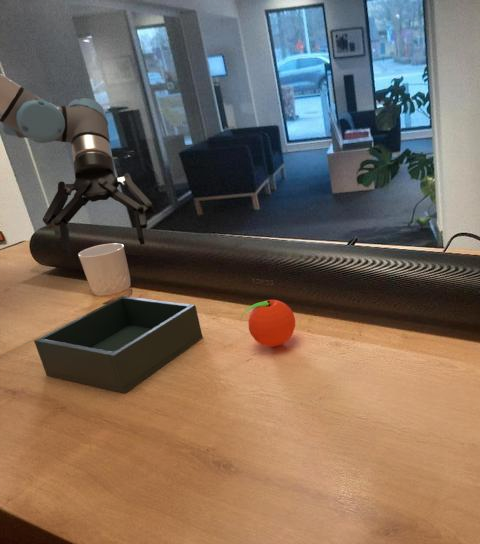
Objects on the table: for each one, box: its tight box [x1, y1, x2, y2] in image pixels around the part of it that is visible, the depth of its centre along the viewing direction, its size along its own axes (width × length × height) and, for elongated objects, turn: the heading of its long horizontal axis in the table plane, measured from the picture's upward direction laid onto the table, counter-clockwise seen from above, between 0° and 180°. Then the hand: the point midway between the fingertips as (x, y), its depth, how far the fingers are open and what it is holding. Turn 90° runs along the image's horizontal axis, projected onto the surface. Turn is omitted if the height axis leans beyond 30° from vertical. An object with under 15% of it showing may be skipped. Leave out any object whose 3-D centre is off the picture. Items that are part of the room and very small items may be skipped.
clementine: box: [239, 299, 296, 348], centre depth 74 cm, size 8×7×7 cm
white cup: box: [77, 242, 134, 305], centre depth 96 cm, size 8×8×10 cm
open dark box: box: [33, 296, 204, 394], centre depth 74 cm, size 16×16×6 cm
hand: (104, 247), depth 98 cm, fingers open, 13 cm apart
